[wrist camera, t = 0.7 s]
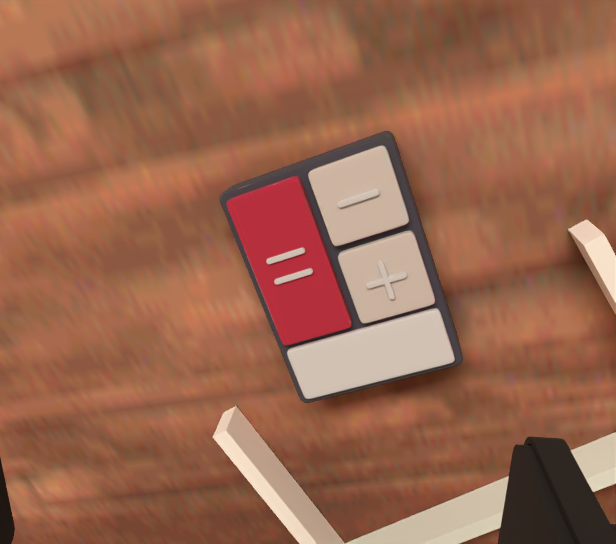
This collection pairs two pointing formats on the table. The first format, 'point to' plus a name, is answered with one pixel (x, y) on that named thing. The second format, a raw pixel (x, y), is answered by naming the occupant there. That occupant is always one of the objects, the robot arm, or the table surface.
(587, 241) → the slot
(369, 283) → the calculator
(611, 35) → the table surface
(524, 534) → the robot arm
